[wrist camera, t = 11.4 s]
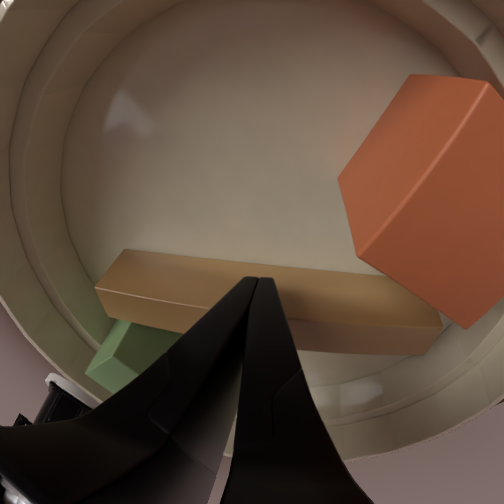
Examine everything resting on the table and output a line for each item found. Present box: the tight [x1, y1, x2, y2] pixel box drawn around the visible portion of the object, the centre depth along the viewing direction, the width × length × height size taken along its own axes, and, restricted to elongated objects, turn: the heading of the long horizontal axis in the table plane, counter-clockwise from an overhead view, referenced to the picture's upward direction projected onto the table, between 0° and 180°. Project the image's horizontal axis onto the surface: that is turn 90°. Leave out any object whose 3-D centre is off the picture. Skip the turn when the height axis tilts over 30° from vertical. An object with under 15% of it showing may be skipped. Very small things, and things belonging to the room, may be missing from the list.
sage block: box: [85, 319, 183, 394], centre depth 12 cm, size 4×4×4 cm
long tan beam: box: [95, 249, 443, 355], centre depth 10 cm, size 2×12×2 cm, turn 90°
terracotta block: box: [338, 74, 504, 330], centre depth 6 cm, size 4×4×4 cm
